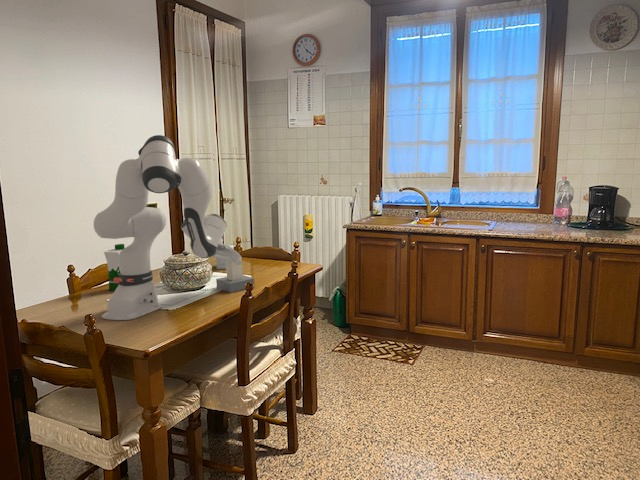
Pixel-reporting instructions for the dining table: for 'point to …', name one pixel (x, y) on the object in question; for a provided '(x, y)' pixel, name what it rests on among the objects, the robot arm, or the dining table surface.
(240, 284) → the block
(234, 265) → the cream block
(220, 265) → the light bulb box
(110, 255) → the milk carton
